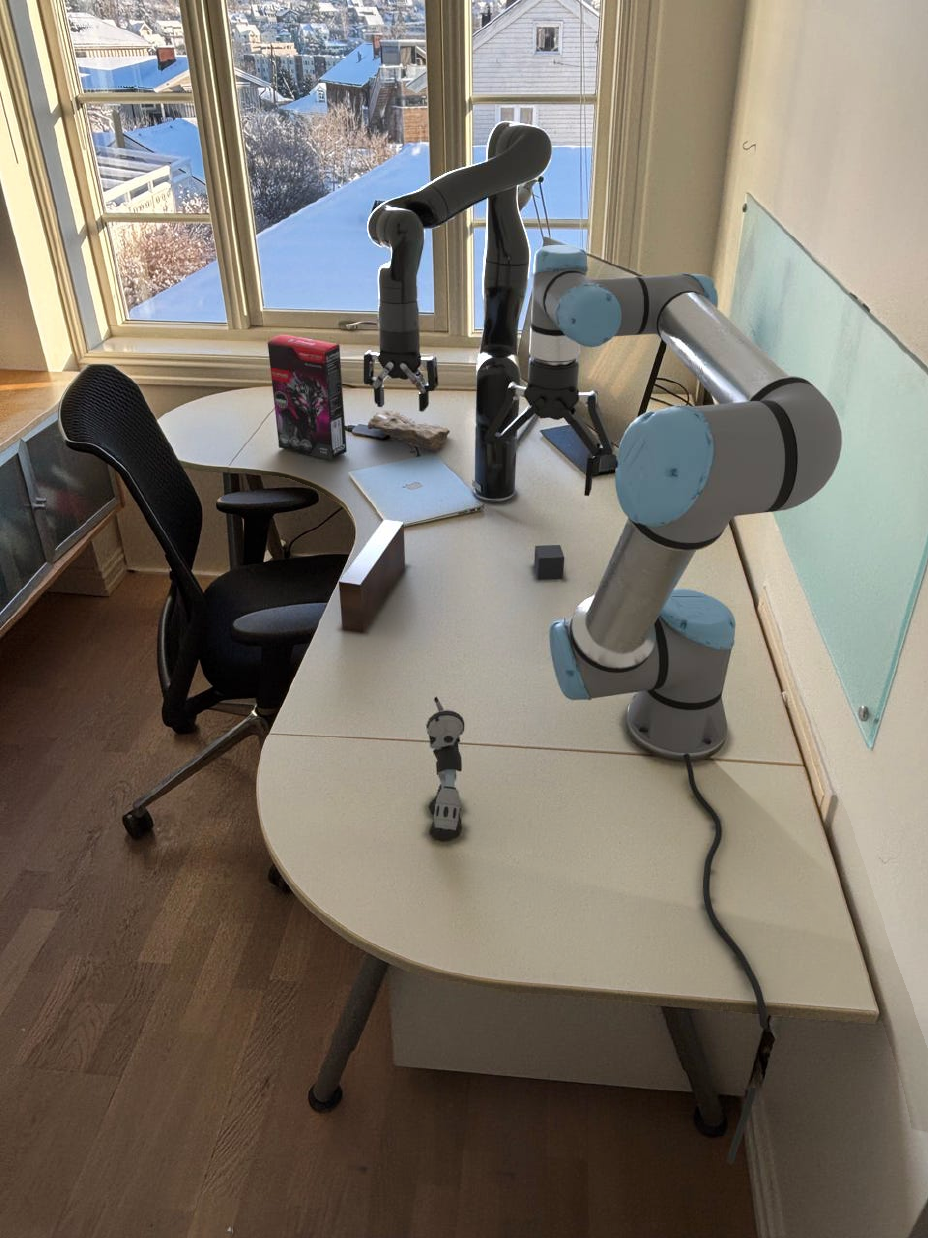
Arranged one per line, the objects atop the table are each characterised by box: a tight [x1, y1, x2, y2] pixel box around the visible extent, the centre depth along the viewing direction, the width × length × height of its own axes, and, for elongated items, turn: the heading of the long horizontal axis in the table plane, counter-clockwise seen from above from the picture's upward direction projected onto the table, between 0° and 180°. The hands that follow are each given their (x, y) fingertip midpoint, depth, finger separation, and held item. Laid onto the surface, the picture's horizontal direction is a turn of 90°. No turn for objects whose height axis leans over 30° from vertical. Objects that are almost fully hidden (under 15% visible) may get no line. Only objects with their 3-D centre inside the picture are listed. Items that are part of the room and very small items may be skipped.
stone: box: [367, 410, 451, 451], centre depth 235 cm, size 21×15×6 cm
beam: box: [338, 519, 406, 633], centre depth 172 cm, size 24×4×10 cm, turn 165°
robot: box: [425, 696, 465, 842], centre depth 121 cm, size 20×5×20 cm, turn 3°
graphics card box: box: [267, 333, 348, 461], centre depth 223 cm, size 17×7×27 cm, turn 62°
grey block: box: [533, 544, 565, 581], centre depth 181 cm, size 5×5×5 cm
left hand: (401, 407), depth 179 cm, fingers open, 8 cm apart
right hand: (546, 487), depth 149 cm, fingers open, 13 cm apart
